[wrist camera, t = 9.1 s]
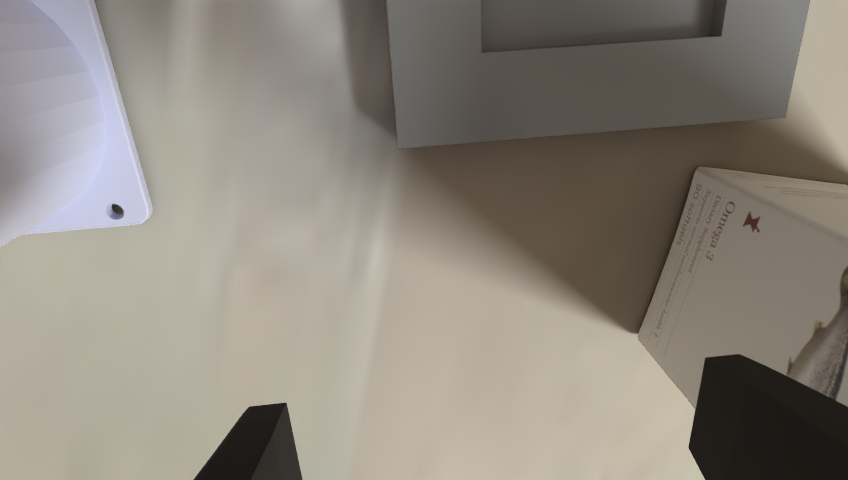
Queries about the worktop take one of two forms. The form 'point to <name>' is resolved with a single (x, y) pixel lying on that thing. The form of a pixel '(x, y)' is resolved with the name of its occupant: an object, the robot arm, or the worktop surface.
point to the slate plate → (586, 65)
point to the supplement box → (755, 281)
